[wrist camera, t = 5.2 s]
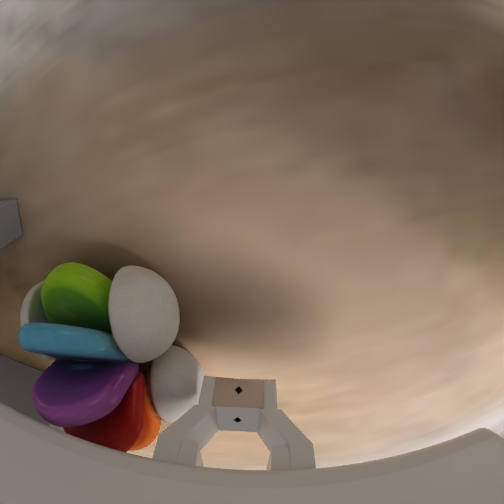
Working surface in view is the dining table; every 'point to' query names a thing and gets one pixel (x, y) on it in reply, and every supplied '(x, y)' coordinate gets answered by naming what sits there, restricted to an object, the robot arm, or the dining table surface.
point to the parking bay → (3, 368)
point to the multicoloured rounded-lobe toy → (108, 354)
